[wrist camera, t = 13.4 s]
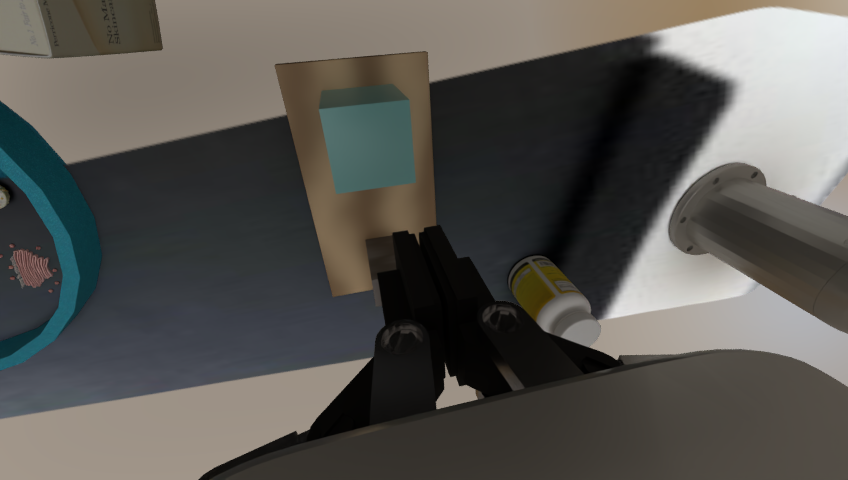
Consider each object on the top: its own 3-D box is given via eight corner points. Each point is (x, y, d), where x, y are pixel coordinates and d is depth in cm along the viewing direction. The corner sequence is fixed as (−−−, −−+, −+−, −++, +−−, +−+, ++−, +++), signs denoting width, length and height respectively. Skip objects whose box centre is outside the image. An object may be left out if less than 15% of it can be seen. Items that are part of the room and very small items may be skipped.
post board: (424, 51, 30) (451, 58, 23) (436, 272, 42) (456, 318, 35) (276, 64, 28) (258, 75, 22) (332, 291, 40) (333, 344, 34)
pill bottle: (511, 300, 47) (555, 367, 38) (501, 265, 44) (547, 330, 35) (555, 282, 47) (609, 344, 38) (548, 246, 44) (607, 305, 35)
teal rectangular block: (392, 83, 30) (409, 99, 23) (399, 151, 33) (415, 182, 26) (321, 90, 29) (318, 109, 23) (335, 160, 32) (336, 194, 26)
